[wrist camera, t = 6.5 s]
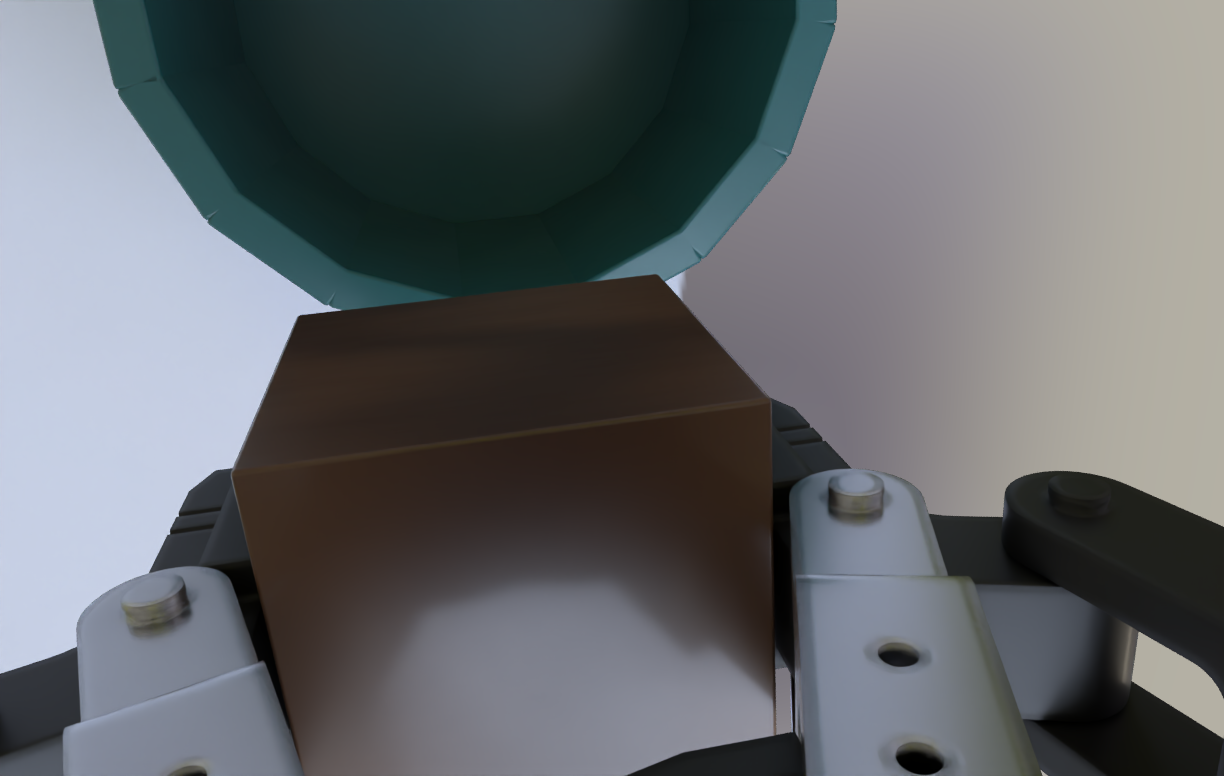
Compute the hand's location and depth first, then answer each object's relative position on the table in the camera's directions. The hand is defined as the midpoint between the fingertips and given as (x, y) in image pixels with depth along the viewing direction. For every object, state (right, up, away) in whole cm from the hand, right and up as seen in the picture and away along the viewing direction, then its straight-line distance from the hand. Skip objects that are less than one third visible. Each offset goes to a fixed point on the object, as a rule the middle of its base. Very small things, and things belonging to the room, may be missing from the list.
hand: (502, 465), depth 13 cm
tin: (-2, +11, +12) cm, 16 cm away
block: (0, 0, 0) cm, 0 cm away
